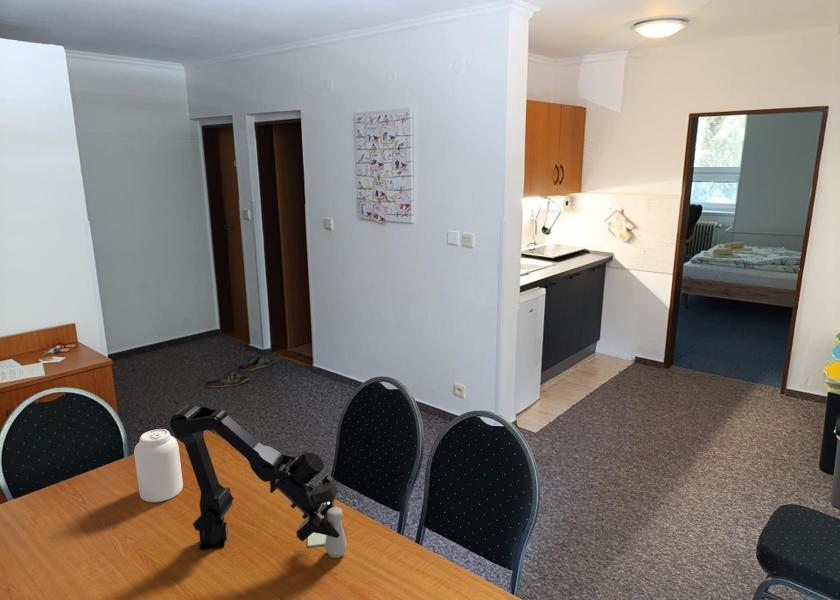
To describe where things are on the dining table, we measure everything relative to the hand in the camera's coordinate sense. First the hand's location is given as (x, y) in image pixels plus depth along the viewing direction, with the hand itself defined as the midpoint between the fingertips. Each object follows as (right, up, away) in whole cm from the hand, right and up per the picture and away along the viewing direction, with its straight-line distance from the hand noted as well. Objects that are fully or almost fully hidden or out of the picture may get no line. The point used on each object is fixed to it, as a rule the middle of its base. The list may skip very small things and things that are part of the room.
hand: (340, 532), depth 151 cm
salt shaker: (-1, -6, +2) cm, 7 cm away
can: (-61, 0, +30) cm, 68 cm away
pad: (-6, -4, +9) cm, 12 cm away
